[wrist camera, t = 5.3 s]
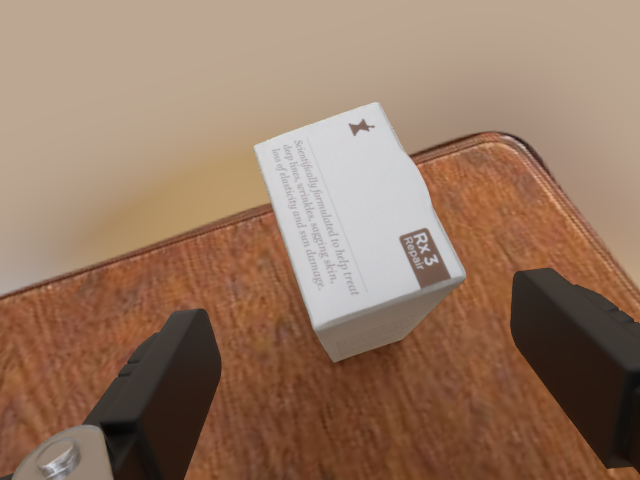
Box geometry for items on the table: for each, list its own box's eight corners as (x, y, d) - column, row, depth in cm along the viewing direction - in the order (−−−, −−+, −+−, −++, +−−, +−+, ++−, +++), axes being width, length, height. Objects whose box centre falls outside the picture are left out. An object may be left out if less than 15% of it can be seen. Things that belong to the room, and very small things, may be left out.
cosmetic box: (300, 266, 22) (236, 137, 11) (371, 241, 22) (377, 89, 11) (334, 369, 20) (295, 338, 9) (413, 341, 20) (476, 273, 9)
